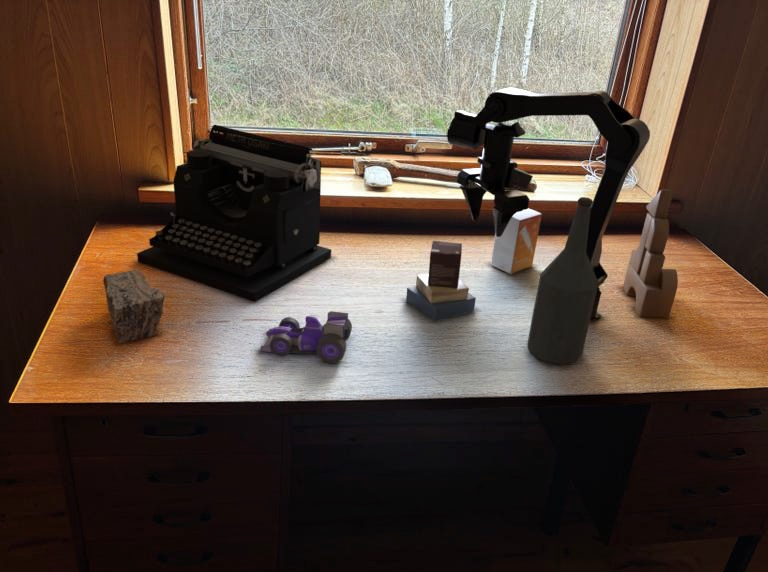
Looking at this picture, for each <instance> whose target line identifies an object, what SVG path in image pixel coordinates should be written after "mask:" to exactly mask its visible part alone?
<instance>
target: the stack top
mask: <svg viewBox="0 0 768 572" xmlns="http://www.w3.org/2000/svg"><path fill="white" fill-rule="evenodd" d="M428 276H429V273H423V274H416V278H415V279H416V280H415V286H416V287H417V288H418V289H419V290H420V291H421V292H422V294H423V295H424V296H425V297H426V298H427V299H428V300H429V302H430V303H439V302H447V301H456V300H465V299H468V293H469V290H470V288H469V287H468V285H466V283H465V282H464V281H463V280H461V278H459V281H458V288H451V287H441V286H429V285H428Z"/></svg>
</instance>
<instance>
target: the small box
mask: <svg viewBox="0 0 768 572" xmlns="http://www.w3.org/2000/svg"><path fill="white" fill-rule="evenodd" d="M542 215H543V213H541V212H539V211H537V210H534V209H531V208H529V207H528V209H525V210H523V211H520V212H517V213H515V214H514V215H513V216H512V218H511V219H510V221H509V223H508V225H507V227H506V228H505V230H504V232H503V234H502V236H501V237H497V236H496V233H494V241H493V248H492V254H491V260H490V266H492V267H495V268H497V269H498V270H501V271H504V272H506V273H507V274H510V275H512V274H514V273H517V272H519V271H522V270H525V269H527V268H531V267H533V263H534V258H535V253H536V247H537V242H538V237H539V231H540V227H541V220H542Z"/></svg>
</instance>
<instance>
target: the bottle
mask: <svg viewBox="0 0 768 572" xmlns="http://www.w3.org/2000/svg"><path fill="white" fill-rule="evenodd" d="M592 203H593V199H592V198H590V197H585V196H580V197H579V198H578V199H577V207H576V210H575V214H574V217H573V219H572V223H571V226H570V230H569V233H568V235H567V239H566V242H565V244H564V248H563V250H561V251H560V253H559V254H558V255H557V256H555V258H554V259H553V260H552V261H551V262H550V263H549V264H548V265H547V266H546V267H545V268H544V270H542V271H541V273H540V274H539V278H538V283H537V289H536V294H535V300H534V305H533V310H532V316H531V320H530V327H529V332H528V337H527V343H526V346H527V350H528V352H529V354H530V355H531V356H533V357H534V358H535V360H536V361H538V362H540V363H543V364H545V365H550V366H557V367H564V366H569V365H574V364H576V362H577V361H579V359H580V357H581V356H582V355H583V353H584V348H585V345H586V340H587V336H588V331H589V327H590V324H591V323H590V322H591V320H590V319H591V314H592V310H593V306H594V302H595V297H596V293H597V289H598V284H599V283H598V280H597V278H596V276H595V273H594V271H593V268H592V266H591V263H590V261H589V258H588V256H587V253H586V248H587V238H588V229H589V219H590V210H591V205H592Z"/></svg>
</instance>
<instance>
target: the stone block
mask: <svg viewBox="0 0 768 572" xmlns="http://www.w3.org/2000/svg"><path fill="white" fill-rule="evenodd" d="M102 282H103V286H104V289H105V296H106V305H107V310H108V313H109V316H110V319H111V322H112V325H113V330H114V333H115V336H116V339H117V341H118V343H119V344H125V343H129V342H133V341H137V340H142V339H147V338H151V337H155V336H157V335H158V329H157V326H159V324H160V322H161V318H162V315H163V312H164V311H163V308H164V303H165V298H166V296H165V293H164V292H162V290H160V289H158V288H154V287H153V288H152V287H151V285H150V284H149V283H148V279H147V278H146V277H145V276H144V274H142V273H141V271H140V269H132V270H125V271H121V272H120V271H119V272H115V273H114V272H113V273H109V274H105V275H104V276H103V281H102Z"/></svg>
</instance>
